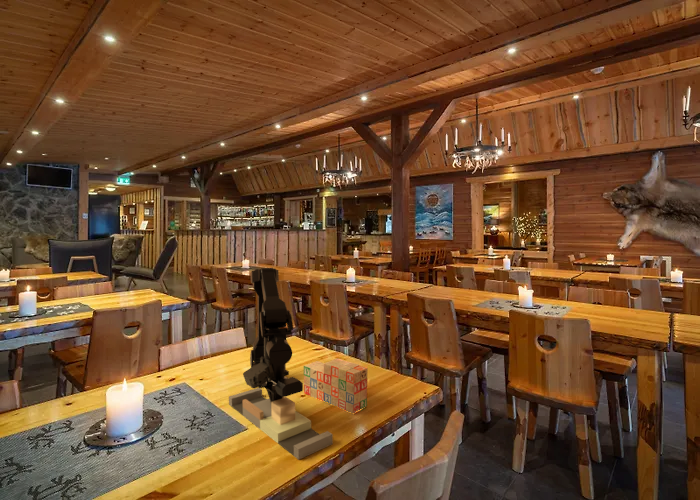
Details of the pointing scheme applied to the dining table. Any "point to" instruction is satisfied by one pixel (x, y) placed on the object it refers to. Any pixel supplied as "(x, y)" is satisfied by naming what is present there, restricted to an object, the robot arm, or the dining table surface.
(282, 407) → the maple block
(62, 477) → the dining table surface
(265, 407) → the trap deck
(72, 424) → the dining table surface
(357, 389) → the stack of blocks
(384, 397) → the dining table surface
